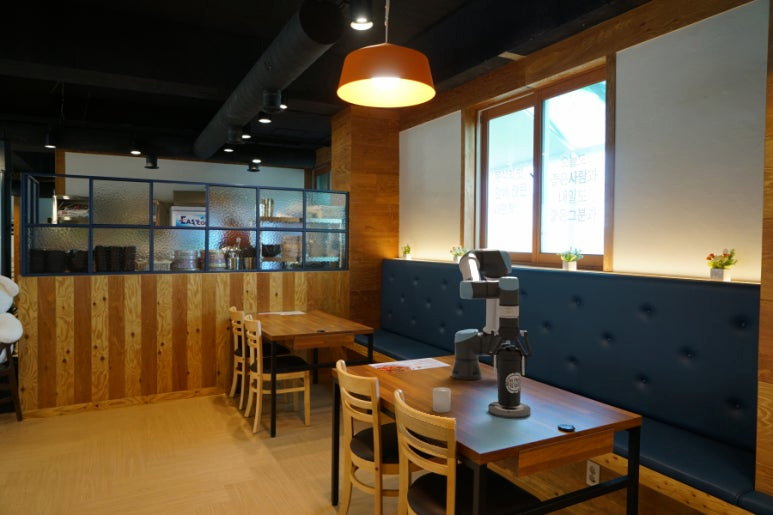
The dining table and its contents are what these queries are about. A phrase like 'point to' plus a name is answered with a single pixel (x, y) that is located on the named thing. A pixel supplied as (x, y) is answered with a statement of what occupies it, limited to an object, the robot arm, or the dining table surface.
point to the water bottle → (509, 375)
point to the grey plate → (509, 411)
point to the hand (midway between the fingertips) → (509, 373)
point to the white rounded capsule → (441, 399)
